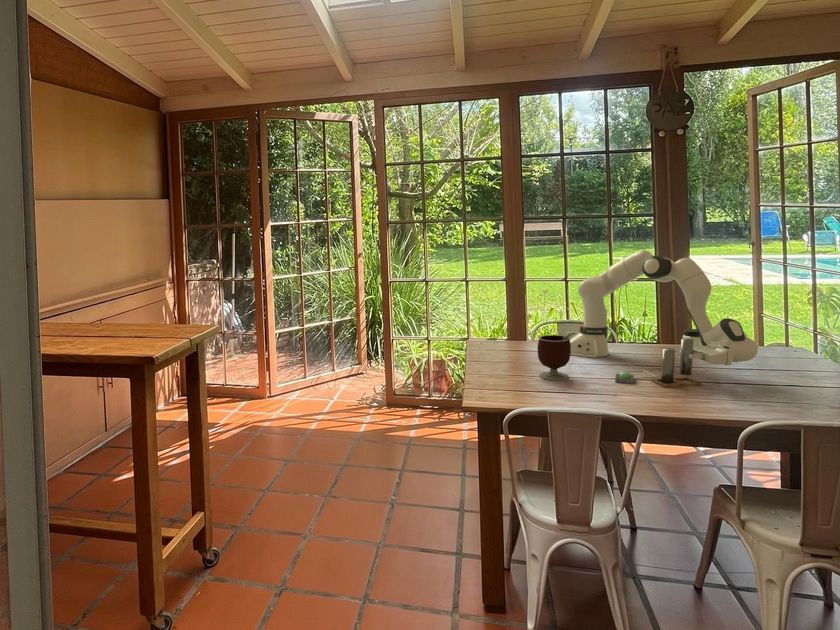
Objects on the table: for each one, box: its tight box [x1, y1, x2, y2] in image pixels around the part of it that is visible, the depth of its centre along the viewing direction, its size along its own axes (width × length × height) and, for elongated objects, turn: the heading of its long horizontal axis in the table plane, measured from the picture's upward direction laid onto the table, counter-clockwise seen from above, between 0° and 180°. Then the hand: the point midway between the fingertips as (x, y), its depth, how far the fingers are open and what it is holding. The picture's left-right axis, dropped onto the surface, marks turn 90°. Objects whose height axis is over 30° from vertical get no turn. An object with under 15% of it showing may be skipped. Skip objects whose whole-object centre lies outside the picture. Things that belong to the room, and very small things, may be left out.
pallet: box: [650, 375, 703, 389], centre depth 212 cm, size 16×9×2 cm, turn 97°
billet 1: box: [660, 347, 676, 384], centre depth 211 cm, size 4×4×14 cm
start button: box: [619, 371, 631, 378], centre depth 217 cm, size 4×4×4 cm
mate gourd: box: [537, 331, 576, 382], centre depth 229 cm, size 16×14×20 cm
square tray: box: [619, 369, 659, 380], centre depth 226 cm, size 11×11×2 cm
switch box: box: [614, 373, 635, 385], centre depth 217 cm, size 7×7×3 cm
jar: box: [682, 328, 702, 345], centre depth 262 cm, size 9×8×12 cm
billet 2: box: [679, 337, 694, 376], centre depth 211 cm, size 4×4×14 cm
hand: (684, 354), depth 211 cm, fingers closed on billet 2, 4 cm apart
